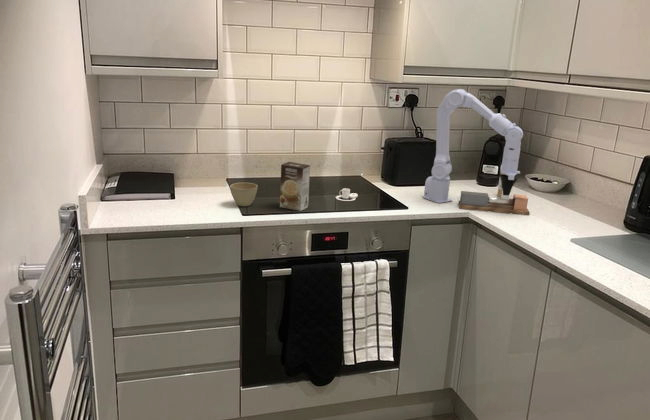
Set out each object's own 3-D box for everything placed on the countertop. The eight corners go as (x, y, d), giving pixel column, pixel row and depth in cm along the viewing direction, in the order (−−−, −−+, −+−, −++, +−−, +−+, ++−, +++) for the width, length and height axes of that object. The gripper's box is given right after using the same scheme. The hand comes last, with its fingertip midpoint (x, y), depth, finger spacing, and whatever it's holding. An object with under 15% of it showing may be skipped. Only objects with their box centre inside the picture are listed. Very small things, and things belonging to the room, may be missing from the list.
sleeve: (460, 204, 206) (461, 193, 205) (459, 201, 210) (461, 190, 209) (487, 207, 204) (488, 196, 203) (485, 204, 208) (487, 193, 207)
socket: (513, 209, 202) (515, 197, 201) (511, 206, 207) (513, 194, 206) (526, 210, 202) (528, 198, 200) (523, 207, 207) (525, 195, 205)
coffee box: (278, 207, 196) (279, 164, 191) (287, 203, 201) (288, 161, 197) (301, 211, 192) (302, 167, 187) (309, 207, 198) (310, 164, 193)
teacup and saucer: (357, 197, 216) (358, 187, 215) (357, 202, 208) (358, 192, 207) (335, 196, 216) (336, 186, 215) (335, 201, 208) (335, 191, 207)
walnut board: (459, 208, 205) (459, 205, 204) (458, 203, 212) (458, 200, 212) (529, 215, 201) (529, 212, 200) (525, 209, 208) (525, 206, 208)
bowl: (235, 199, 203) (235, 181, 200) (261, 202, 201) (261, 183, 199) (225, 206, 193) (225, 187, 191) (252, 209, 191) (252, 190, 189)
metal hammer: (476, 203, 205) (479, 184, 203) (475, 201, 208) (478, 182, 206) (515, 207, 203) (518, 187, 201) (514, 205, 206) (517, 186, 204)
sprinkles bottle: (510, 197, 225) (514, 165, 222) (503, 198, 223) (507, 166, 219) (501, 194, 229) (505, 163, 225) (494, 195, 227) (498, 164, 223)
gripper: (525, 163, 192) (519, 200, 196) (518, 156, 206) (513, 190, 210) (504, 162, 194) (499, 198, 198) (499, 155, 207) (494, 189, 211)
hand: (505, 194), depth 204 cm, fingers closed on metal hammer, 2 cm apart
